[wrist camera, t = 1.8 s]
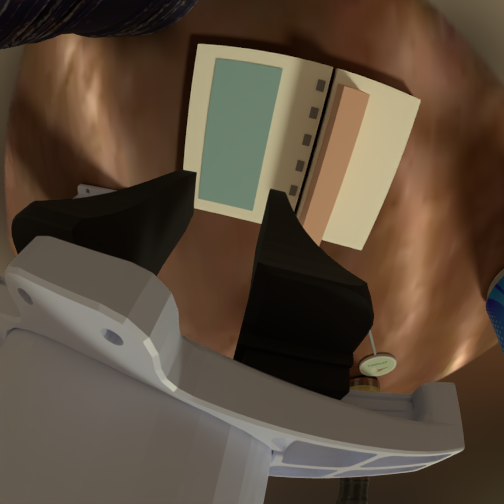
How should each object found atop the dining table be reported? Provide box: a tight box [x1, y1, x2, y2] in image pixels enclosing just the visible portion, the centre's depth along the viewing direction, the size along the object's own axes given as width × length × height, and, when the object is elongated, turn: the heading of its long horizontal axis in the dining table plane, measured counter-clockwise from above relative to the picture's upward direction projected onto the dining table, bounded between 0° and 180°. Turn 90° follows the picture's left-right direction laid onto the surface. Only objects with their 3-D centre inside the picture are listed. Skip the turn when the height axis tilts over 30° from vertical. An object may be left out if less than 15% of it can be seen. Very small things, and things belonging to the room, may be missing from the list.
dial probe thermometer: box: [359, 330, 396, 376], centre depth 32 cm, size 5×1×15 cm
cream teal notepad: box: [183, 44, 333, 224], centre depth 19 cm, size 9×13×1 cm
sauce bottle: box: [336, 377, 381, 504], centre depth 30 cm, size 6×6×20 cm
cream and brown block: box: [296, 68, 421, 250], centre depth 18 cm, size 6×13×4 cm, turn 170°
